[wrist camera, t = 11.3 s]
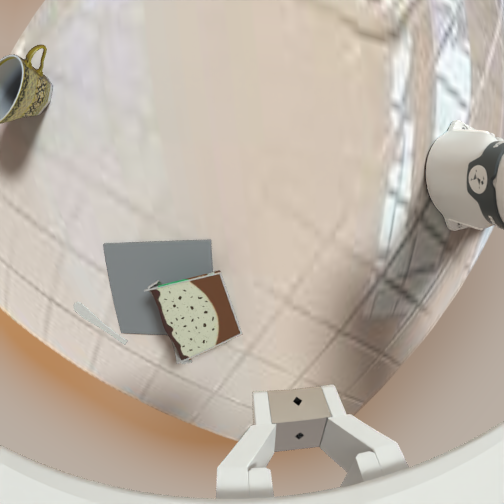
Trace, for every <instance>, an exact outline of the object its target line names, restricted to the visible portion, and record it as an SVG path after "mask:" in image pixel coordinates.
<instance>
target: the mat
mask: <svg viewBox="0 0 504 504" xmlns="http://www.w3.org/2000/svg"><path fill="white" fill-rule="evenodd" d="M103 246H104V253H105V259H106V265H107V270H108V276H109V281H110V286H111V291H112V296H113V300H114V305H115V309H116V313H117V317H118V322H119V326H120V329H121V333H135V334H162V335H168V334H167V333H166V331H165V329H164V327H163V324H162V320H161V316H160V313H159V309H158V307H157V304H156V302H155V299H154V298H153V296H152V294H151V293H150V292H149V291H145V292H144V290H145V289H147V288H148V286H149V285H151V284H153V283H154V282H156V281H158V280H159V281H160V282H161V283H162V284H166V283H171V282H175V281H179V280H183V279H187V278H191V277H195V276H199V275H203V274H207V273H211V272H213V265H212V248H211V240H182V241H154V242H128V243H105V244H103Z"/></svg>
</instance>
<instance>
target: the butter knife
mask: <svg viewBox="0 0 504 504" xmlns="http://www.w3.org/2000/svg"><path fill="white" fill-rule="evenodd" d="M74 310H75V312H76V313H77V314H79V315H80V316H81V317H83V318H84V319H86V320H87V321H89V322H91V323H92V324H94V325H96V326H97V327H99V328H101V329H102V330H104V331H105V332H107V333H108V334H110V335H111V336H113V337H114V338H116V339H117V340H118V341H120V342H121V343H123V344H124V345H126V343H127V342H128V340H126V339H125V338H123V337H122V336H120V335H119V334H117V333H116V332H114V331H113V330H112V329H110V328H109V327H108V326H106V325H105V324H104V323H103V322H102V321H101V320H99V319H98V318H97V317H96V316H95V315H94V314H93V313H92V312H91V311H90V310H89V309H88V308H87V307H85V306H84V305H83V304H81V303H80V302H76V303H74Z"/></svg>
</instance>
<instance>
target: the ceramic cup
mask: <svg viewBox="0 0 504 504" xmlns="http://www.w3.org/2000/svg"><path fill="white" fill-rule="evenodd" d="M41 48H43V49H44V51H43V55H42V58H41V65H40V67H39V69H35V68H34V67H33V66H32V64H31V59H32V57H33V55H34V54H35V52H36V51H37V50H39V49H41ZM46 51H47V49H46V47H45V46H44V45H37V46H35V47H33V48H32V49H31V50H30V51H29V52H28V54H27V55H26V59H25V60H24V59H22V58H21V57H19V56H17V55H8V56H5V57H3V58H2V59H1V60H0V124H1V123H5V122H9V121H12V120H15V119H18V118H22V117H29V116H36V115H40V114H41V113H42V111H43V110H44V109H45V108H46V106H47V105H48V104H49V103H50V101H51V95H52V90H53V85H52V83H51V82H50V80H49V79H48V78H47V77H46V76H45V75H43V72H42V69H43V62H44V58H45V55H46Z"/></svg>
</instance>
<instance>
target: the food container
mask: <svg viewBox="0 0 504 504" xmlns="http://www.w3.org/2000/svg"><path fill="white" fill-rule="evenodd" d="M145 291H149V292H150V293H151V294H152V296H153V298H154V299H155V302H156V304H157V307H158V309H159V313H160V316H161V320H162V324H163V327H164V329H165V331H166V333H167V334H168V336H169V337H170V339H171V340H172V344H173V347H174V351H175V355H176V361H177V364H179V363H182V364H186V363H192V360H191V358H193V357H195V356H198V355H200V354H202V353H204V352H206V351H209V350H211V349H213V348H215V347H217V346H219V345H221V344H224V343H226V342H228V341H230V340H232V339H234V338H236V337H238V336H240V335H242V331H241V328H240V326H239V323H238V320H237V317H236V314H235V312H234V309H233V306H232V303H231V300H230V297H229V294H228V291H227V289H226V286H225V283H224V280H223V277H222V274H221V271H220V270H219V271H215V272H211V273H207V274H203V275H199V276H195V277H191V278H187V279H183V280H179V281H175V282H171V283H166V284H162V283H161V282H160V281H159V280H158V281H156V282H154V283H153V284H151V285H149V286H148V288H147V289H145V290H144V292H145Z"/></svg>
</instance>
